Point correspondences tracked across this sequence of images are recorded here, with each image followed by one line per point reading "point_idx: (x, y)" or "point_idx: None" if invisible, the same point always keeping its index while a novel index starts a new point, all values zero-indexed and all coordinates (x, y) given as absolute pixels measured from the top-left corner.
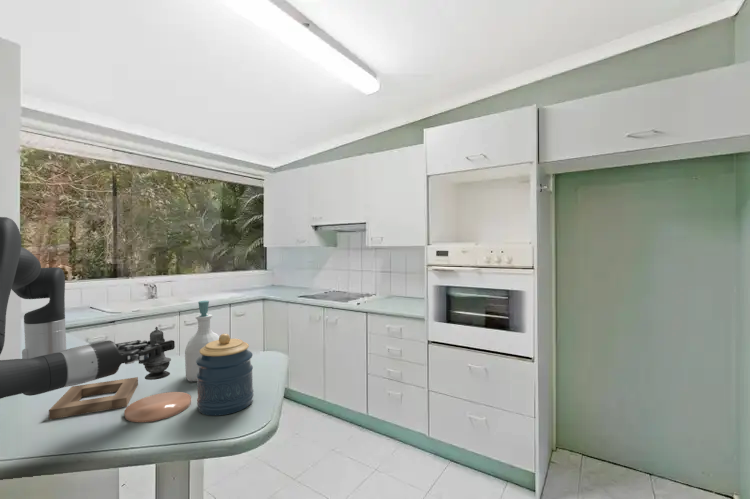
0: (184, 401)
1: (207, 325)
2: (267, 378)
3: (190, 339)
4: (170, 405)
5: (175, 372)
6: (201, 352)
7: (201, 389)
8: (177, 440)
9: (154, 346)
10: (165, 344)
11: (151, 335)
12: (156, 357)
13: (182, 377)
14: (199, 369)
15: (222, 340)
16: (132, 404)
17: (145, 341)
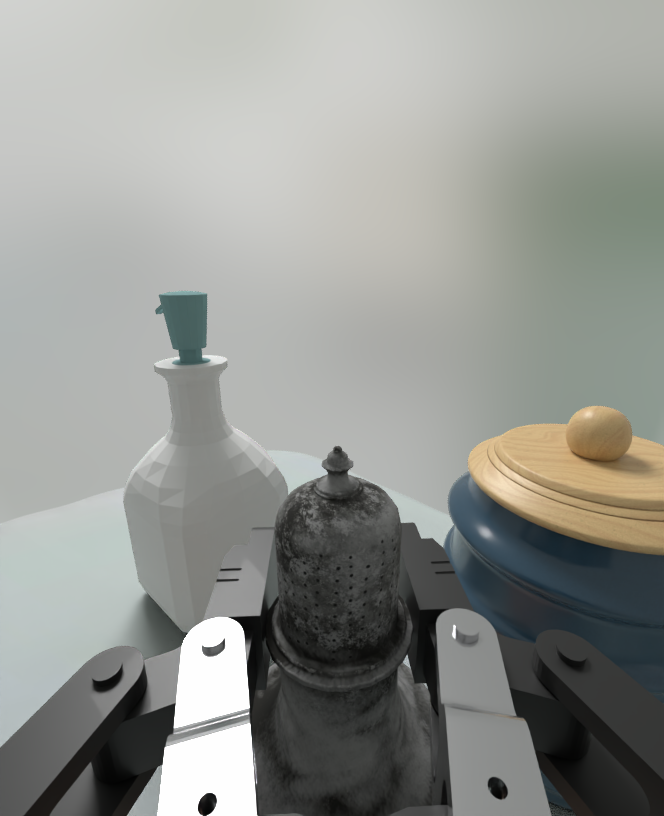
0: None
1: (220, 400)
2: (415, 523)
3: (159, 473)
4: None
5: (54, 614)
6: (646, 542)
7: None
8: None
9: (587, 693)
10: (455, 585)
11: (351, 560)
12: (630, 793)
13: (127, 627)
14: (615, 636)
15: (629, 442)
16: None
17: (233, 640)
